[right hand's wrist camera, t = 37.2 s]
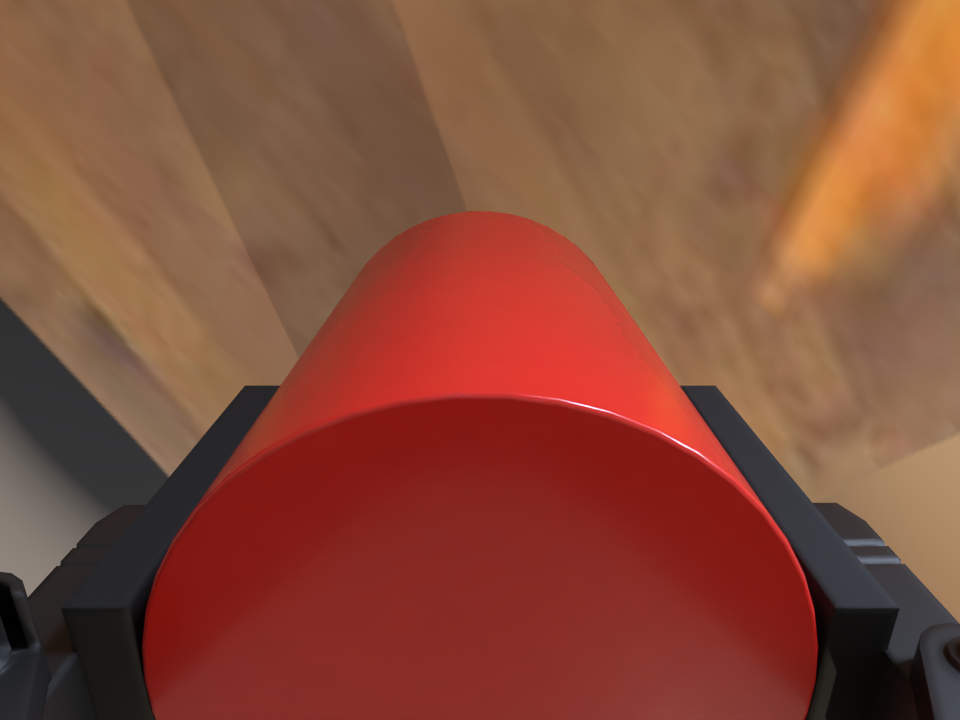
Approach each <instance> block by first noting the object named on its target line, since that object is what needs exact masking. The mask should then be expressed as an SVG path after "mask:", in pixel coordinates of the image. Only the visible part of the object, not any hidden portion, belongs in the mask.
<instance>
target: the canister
mask: <svg viewBox="0 0 960 720" xmlns="http://www.w3.org/2000/svg"><path fill="white" fill-rule="evenodd" d="M142 652H143V667H144V680H145V684H146V688H147V692H148V697H149V701H150V705H151V709H152V713H153V715H154V717H155V720H805V718H806V716H807V713H808V709H809V705H810V701H811V697H812V693H813V689H814V685H815V681H816V669H817V655H818V640H817V630H816V620H815V610H814V606H813V602H812V599H811V595H810V592H809V588H808V585H807V581H806V578H805V574H804V572H803V570H802V568H801V566H800V564H799V562H798V560H797V558H796V556H795V554H794V552H793V550H792V548H791V545H790V543H789V541H788V540H787V538H786V537H785V535H784V534H783V532H782V531H781V530H780V528H779V527H778V525H777V524H776V522H775V521H774V520H773V518H772V517H771V515H770V514H769V512H768V511H767V510H766V508H765V507H764V505H763V504H762V503H761V501H760V500H759V498H758V497H757V495H756V494H755V493H754V491H753V490H752V488H751V487H750V485H749V484H748V483H747V481H746V480H745V478H744V477H743V475H742V474H741V473H740V471H739V470H738V468H737V467H736V465H735V464H734V463H733V461H732V460H731V458H730V457H729V455H728V454H727V453H726V451H725V450H724V448H723V447H722V445H721V444H720V443H719V441H718V440H717V438H716V437H715V435H714V434H713V433H712V431H711V430H710V428H709V427H708V425H707V424H706V423H705V421H704V420H703V418H702V417H701V416H700V414H699V413H698V411H697V410H696V408H695V407H694V406H693V404H692V403H691V401H690V400H689V398H688V397H687V396H686V394H685V393H684V391H683V390H682V388H681V387H680V386H679V384H678V383H677V381H676V380H675V378H674V377H673V376H672V374H671V373H670V371H669V370H668V368H667V367H666V366H665V364H664V363H663V361H662V360H661V358H660V357H659V356H658V354H657V353H656V351H655V350H654V348H653V347H652V346H651V344H650V343H649V341H648V340H647V338H646V337H645V336H644V334H643V333H642V331H641V330H640V329H639V327H638V326H637V324H636V323H635V321H634V320H633V319H632V317H631V316H630V314H629V313H628V311H627V310H626V309H625V307H624V306H623V304H622V303H621V301H620V300H619V299H618V297H617V296H616V294H615V293H614V291H613V290H612V289H611V287H610V286H609V284H608V283H607V281H606V280H605V279H604V277H603V276H602V274H601V273H600V272H599V270H598V269H597V267H596V266H595V265H594V263H593V262H592V261H591V260H590V259H589V258H588V257H587V256H586V255H585V254H584V253H583V252H582V251H581V249H579V248H578V247H577V246H576V245H574V244H573V243H572V242H571V241H569V240H568V239H567V238H565V237H564V236H562V235H561V234H559V233H557V232H555V231H554V230H552V229H550V228H549V227H547V226H544V225H542V224H540V223H537V222H535V221H532V220H530V219H526V218H523V217H519V216H516V215H512V214H506V213H499V212H491V211H469V212H462V213H454V214H448V215H445V216H441V217H437V218H433V219H430V220H428V221H425V222H423V223H421V224H418V225H416V226H413V227H411V228H410V229H408V230H406V231H405V232H403V233H401V234H400V235H398V236H396V237H395V238H393V239H392V240H391V241H390V242H388V243H387V244H386V245H385V246H383V247H382V248H381V249H380V250H379V251H378V252H377V253H376V254H375V255H374V256H373V257H372V258H371V259H370V260H369V261H368V262H367V263H366V265H365V266H364V268H363V269H362V270H361V272H360V273H359V274H358V276H357V277H356V279H355V280H354V282H353V283H352V284H351V286H350V287H349V289H348V290H347V292H346V293H345V294H344V296H343V297H342V299H341V300H340V301H339V303H338V304H337V306H336V307H335V309H334V310H333V311H332V313H331V314H330V316H329V317H328V319H327V320H326V321H325V323H324V324H323V326H322V327H321V329H320V330H319V331H318V333H317V334H316V336H315V337H314V339H313V340H312V341H311V343H310V344H309V346H308V347H307V349H306V350H305V351H304V353H303V354H302V356H301V357H300V359H299V360H298V361H297V363H296V364H295V366H294V367H293V369H292V370H291V371H290V373H289V374H288V376H287V377H286V379H285V380H284V381H283V383H282V384H281V386H280V387H279V388H278V390H277V391H276V393H275V394H274V396H273V397H272V398H271V400H270V401H269V403H268V404H267V406H266V407H265V408H264V410H263V411H262V413H261V414H260V416H259V417H258V418H257V420H256V421H255V423H254V424H253V426H252V427H251V428H250V430H249V431H248V433H247V434H246V436H245V437H244V438H243V440H242V441H241V443H240V444H239V446H238V447H237V448H236V450H235V451H234V453H233V454H232V456H231V457H230V458H229V460H228V461H227V463H226V464H225V466H224V467H223V468H222V470H221V471H220V473H219V474H218V475H217V477H216V478H215V480H214V481H213V483H212V484H211V485H210V487H209V488H208V490H207V491H206V493H205V494H204V495H203V497H202V498H201V500H200V501H199V503H198V504H197V505H196V507H195V508H194V510H193V511H192V513H191V514H190V515H189V517H188V518H187V520H186V521H185V523H184V524H183V525H182V527H181V528H180V530H179V531H178V533H177V534H176V535H175V537H174V538H173V540H172V542H171V544H170V546H169V548H168V550H167V552H166V554H165V556H164V558H163V560H162V562H161V564H160V566H159V568H158V570H157V572H156V575H155V579H154V582H153V586H152V589H151V592H150V596H149V599H148V603H147V606H146V613H145V622H144V631H143V641H142Z"/></svg>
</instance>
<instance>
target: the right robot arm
mask: <svg viewBox="0 0 960 720" xmlns="http://www.w3.org/2000/svg"><path fill="white" fill-rule="evenodd" d="M279 387H280V386H244V388H243V389H242V390H241V391H240V392H239V394H238V395H237V396H236V397H235V399H234V400H233V401H232V402H231V403H230V405H229V406H228V407H227V408H226V409H225V411H224V412H223V413H222V414H221V415H220V417H219V418H218V419H217V420H216V421H215V423H214V424H213V425H212V426H211V428H210V429H209V430H208V431H207V432H206V434H205V435H204V436H203V437H202V438H201V440H200V441H199V442H198V443H197V444H196V446H195V447H194V448H193V449H192V450H191V452H190V453H189V454H188V455H187V457H186V458H185V459H184V460H183V461H182V463H181V464H180V465H179V466H178V467H177V469H176V470H175V471H174V472H173V473H172V475H171V476H170V477H169V478H168V479H167V481H166V482H165V483H164V484H163V486H162V487H161V488H160V489H159V490H158V492H157V493H156V494H155V495H154V497H153V498H152V499H151V500H150V501H149V502H148V504H147V505H124V506H122V507H121V508H119V509H117V510H116V511H114V512H113V513H111V514H109V515H108V516H106V517H105V518H103V519H101V520H100V521H98V522H97V523H95V525H94V526H93V527H92V528H91V529H90V530H89V531H88V532H87V533H86V534H85V536H84V537H83V538H82V539H81V540H80V541H79V542H78V543H77V547H76V548H73V549H72V550H71V551H70V552H69V553H68V554H67V555H66V556H65V558H64V559H63V560H62V561H61V565H60V566H56V567H55V568H54V570H53V571H52V572H51V573H50V574H49V575H48V576H47V577H46V578H45V579H44V581H43V582H42V583H41V584H40V585H39V586H38V587H37V588H36V589H35V590H34V592H33V593H32V594H31V595H30V596H29V597H27V594H26V591H25V588H24V584H23V581H22V580H21V579H19V578H18V577H16V576H15V575H13V574H12V573H5V572H0V720H155V717H154V715H153V713H152V709H151V705H150V701H149V697H148V692H147V688H146V684H145V680H144V667H143V652H142V641H143V631H144V622H145V613H146V606H147V603H148V599H149V596H150V592H151V589H152V586H153V582H154V579H155V575H156V572H157V570H158V568H159V566H160V564H161V562H162V560H163V558H164V556H165V554H166V552H167V550H168V548H169V546H170V544H171V542H172V540H173V538H174V537H175V535H176V534H177V533H178V531H179V530H180V528H181V527H182V525H183V524H184V523H185V521H186V520H187V518H188V517H189V515H190V514H191V513H192V511H193V510H194V508H195V507H196V505H197V504H198V503H199V501H200V500H201V498H202V497H203V495H204V494H205V493H206V491H207V490H208V488H209V487H210V485H211V484H212V483H213V481H214V480H215V478H216V477H217V475H218V474H219V473H220V471H221V470H222V468H223V467H224V466H225V464H226V463H227V461H228V460H229V458H230V457H231V456H232V454H233V453H234V451H235V450H236V448H237V447H238V446H239V444H240V443H241V441H242V440H243V438H244V437H245V436H246V434H247V433H248V431H249V430H250V428H251V427H252V426H253V424H254V423H255V421H256V420H257V418H258V417H259V416H260V414H261V413H262V411H263V410H264V408H265V407H266V406H267V404H268V403H269V401H270V400H271V398H272V397H273V396H274V394H275V393H276V391H277V390H278V388H279ZM680 387H681V388H682V390H683V391H684V393H685V394H686V396H687V397H688V398H689V400H690V401H691V403H692V404H693V406H694V407H695V408H696V410H697V411H698V413H699V414H700V416H701V417H702V418H703V420H704V421H705V423H706V424H707V425H708V427H709V428H710V430H711V431H712V433H713V434H714V435H715V437H716V438H717V440H718V441H719V443H720V444H721V445H722V447H723V448H724V450H725V451H726V453H727V454H728V455H729V457H730V458H731V460H732V461H733V463H734V464H735V465H736V467H737V468H738V470H739V471H740V473H741V474H742V475H743V477H744V478H745V480H746V481H747V483H748V484H749V485H750V487H751V488H752V490H753V491H754V493H755V494H756V495H757V497H758V498H759V500H760V501H761V503H762V504H763V505H764V507H765V508H766V510H767V511H768V512H769V514H770V515H771V517H772V518H773V520H774V521H775V522H776V524H777V525H778V527H779V528H780V530H781V531H782V532H783V534H784V535H785V537H786V538H787V540H788V541H789V543H790V545H791V548H792V550H793V552H794V554H795V556H796V558H797V560H798V562H799V564H800V566H801V568H802V570H803V572H804V574H805V578H806V581H807V585H808V588H809V592H810V595H811V599H812V602H813V606H814V610H815V620H816V630H817V640H818V655H817V669H816V681H815V685H814V689H813V693H812V697H811V701H810V705H809V709H808V713H807V716H806V718H805V720H960V624H959V623H958V622H957V620H956V619H955V618H954V617H953V616H952V615H951V614H950V613H949V612H948V611H947V610H946V608H945V607H944V606H943V605H942V604H941V603H940V602H939V601H938V600H937V599H936V598H935V597H934V595H933V594H932V593H931V592H930V591H929V590H928V589H927V588H926V587H925V586H924V585H923V584H922V582H921V581H920V580H919V579H918V578H917V577H916V576H915V575H914V574H913V573H912V571H911V570H910V569H909V568H908V567H907V566H906V565H905V564H901V562H900V558H899V557H898V556H897V555H896V554H895V553H894V552H893V551H892V550H891V549H890V547H889V546H885V545H884V541H883V540H882V539H881V538H880V537H879V536H878V534H877V533H876V532H875V531H874V530H873V529H872V528H871V527H870V526H869V525H868V524H867V522H866V521H864V520H863V519H861V518H860V517H858V516H856V515H855V514H853V513H852V512H850V511H848V510H847V509H845V508H844V507H842V506H840V505H839V504H837V503H812V502H811V501H810V499H809V498H808V497H807V496H806V495H805V493H804V492H803V491H802V490H801V489H800V487H799V486H798V485H797V484H796V483H795V481H794V480H793V479H792V478H791V477H790V475H789V474H788V473H787V472H786V470H785V469H784V468H783V467H782V466H781V464H780V463H779V462H778V461H777V460H776V458H775V457H774V456H773V455H772V454H771V452H770V451H769V450H768V449H767V448H766V446H765V445H764V444H763V443H762V441H761V440H760V439H759V438H758V437H757V435H756V434H755V433H754V432H753V431H752V429H751V428H750V427H749V426H748V425H747V423H746V422H745V421H744V420H743V419H742V417H741V416H740V415H739V414H738V412H737V411H736V410H735V409H734V408H733V406H732V405H731V404H730V403H729V402H728V400H727V399H726V398H725V397H724V396H723V394H722V393H721V392H720V391H719V390H718V388H717V387H716V386H680Z"/></svg>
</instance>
